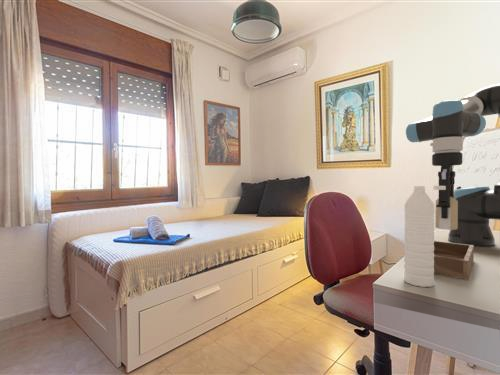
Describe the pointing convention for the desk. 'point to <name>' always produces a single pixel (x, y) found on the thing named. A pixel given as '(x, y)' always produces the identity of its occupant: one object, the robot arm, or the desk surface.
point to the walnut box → (453, 259)
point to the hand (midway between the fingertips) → (446, 227)
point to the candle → (453, 214)
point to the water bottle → (419, 238)
